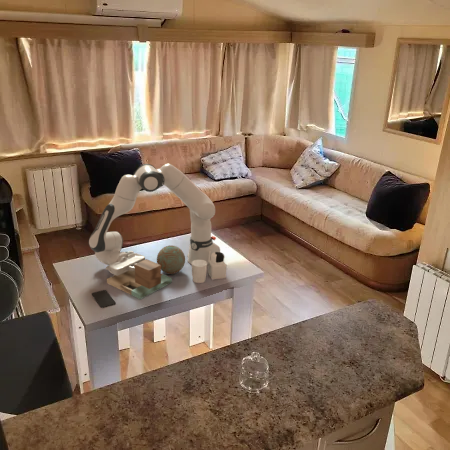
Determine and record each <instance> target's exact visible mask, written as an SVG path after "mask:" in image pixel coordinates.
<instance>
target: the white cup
mask: <svg viewBox="0 0 450 450" xmlns="http://www.w3.org/2000/svg"><path fill="white" fill-rule="evenodd" d="M207 272H208V266H207V262H206V261H204V260H194V261H193V262H192V264H191V276H192V277H191V278H192V282H193V283H195V284H203V283H205V282H206V279H207V277H206V276H207Z"/></svg>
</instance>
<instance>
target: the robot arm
mask: <svg viewBox="0 0 450 450" xmlns="http://www.w3.org/2000/svg"><path fill="white" fill-rule="evenodd" d="M163 186H165V187H166V188H167V189H168V190H169V191H170V192H172V193H173V194H174V195H175V196H176V197H177V198H178V199H179V200H180V201H181V202H182V203H183V204H184V205H185V206H186V207H187V208H188V209H189V218H190V238H189V245H188V246H189V248H188V254H187V255H186V257H187V262H188V264H190V265H192V262H193V261H194V260H204V261H206V262H207V267H208V261H210V260H211V254H212V253H214V252H221V247H220V246H219V245H218V244H216V243H215V242H214V241H216V239H217V237H216V236H213V235H212V222H211V219H212V218H213V217H214V216H215V214H216V206H215V204H214V202H213V201H212V199H211V198H210V197H209V196H208V195H207V194H206V193H205V192H203V191H202V190H201V189H200V188H199V187H198V186H197V185H196V184H195V183H194V182H193V181H192V180H191V179H190V178H189V177H187V175H185V173H184V172H182V171H181V170H180V169H179V168H177V167H175V165H173V164H171V163H164V165H162V166H161V167H160V168H156V167H155V166H154V165H152V164H150V163H144V164H141V165H140V166H139V167H137V169H136V170H135V171H133V173H132V174H124V175H123V176H121V178H120V180H119V183H118V184H117V186H116V189H115V192H114V196H113V197H112V198H111V200H110V202H109V203H108V204H107V205H106V206H105V207H104V209H103V211H102V213H101V216H100V217H99V220H98V222H97V224H96V226H95V228H94V230H93V231H92V233H91V235H90V236H89V239H88V246H89V248H90V249H91V250H92V251H93V252H94V256H95V258H96V259H97V261H99V262H101V263H102V264H104V265H106V267H105V270H106V271H109V273H111V274H112V276H114V275H115V276H118V275H121V274H123V273H125V272H127V271H135V264H137V263H139V262H141V261H143V260H146V256H144V255H143V254H140V253H138V252H134V251H133V250H128V251H121V250H122V247H123V244H124V238H123V236H122V235H121V232H119V231H117V230H116V231H109V228H110V226H111V224H112V222H113V221H114V220H115V219H116V218H118V217H120V216H122V215H125V214H127V213H129V212H130V211H132V210H133V208H134V206H135V204H136V201H137V198H138V194H139V192H140V191H141V190H144V191H146V192H148V193H152V192H156V191H157V190H158V189H160V188H161V187H163Z"/></svg>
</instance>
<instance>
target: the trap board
mask: <svg viewBox="0 0 450 450" xmlns="http://www.w3.org/2000/svg"><path fill="white" fill-rule="evenodd" d="M172 280H173V278H172V277H170V276H168V275H165V274H163V273H161V283H160V284H158V285H156V286H154V287H152V288H150V289H149V288H146V287H144V286H142V285H140V284H138V283H135V271H127V272H125V273H123V274H121V275H118V276H115V275H112V276H110V277H108V278H106V284H108V285H109V286H112V287H114V288H115V289H118V290H120V291H121V292H124V293H127V294H128V295H131V296H133V297H135V298H137V299H138V300H142V299H144V298H145V297H147V296H149V295H152V293H153V294H154V293H155V292H156V291H158V290H160V289H162V288H164V287H166V286H167V285H171V283H173V281H172Z"/></svg>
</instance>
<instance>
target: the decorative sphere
mask: <svg viewBox="0 0 450 450" xmlns="http://www.w3.org/2000/svg"><path fill="white" fill-rule="evenodd" d="M156 263H157V264H160V265H161V272H163V273H165V274H169V275H174V274H176V273H178V272H181V270H182V269H183V268H184V266H185V263H186V256H185V253H184V251H183V250H182V249H181V248H180V247H178V246H177V245H167V246H164V247H162V248H161V249H160V250H159V252H158V253H157V256H156Z"/></svg>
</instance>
